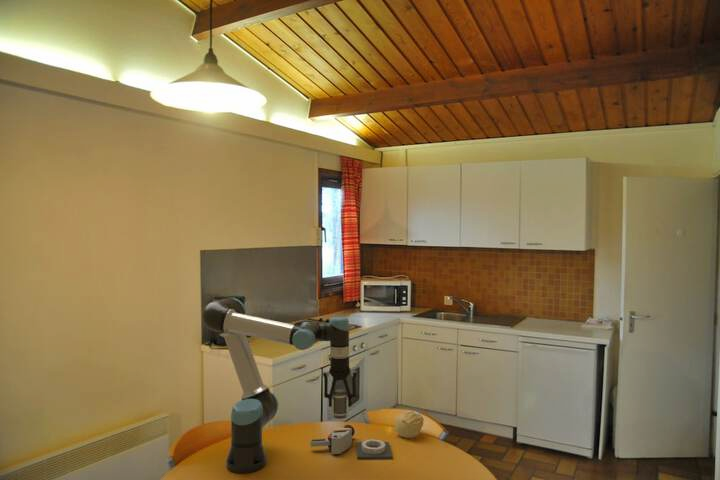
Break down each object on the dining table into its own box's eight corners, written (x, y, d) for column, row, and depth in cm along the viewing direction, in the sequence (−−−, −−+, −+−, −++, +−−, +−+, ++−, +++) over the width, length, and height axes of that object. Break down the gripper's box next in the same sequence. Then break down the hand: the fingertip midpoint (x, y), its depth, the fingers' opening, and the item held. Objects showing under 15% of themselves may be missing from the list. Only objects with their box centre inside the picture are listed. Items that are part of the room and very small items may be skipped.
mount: (357, 459, 197) (357, 451, 197) (355, 444, 211) (355, 437, 211) (392, 458, 198) (392, 451, 198) (388, 444, 212) (388, 437, 212)
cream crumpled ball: (409, 443, 213) (410, 418, 213) (389, 434, 222) (390, 410, 222) (427, 436, 221) (427, 412, 220) (407, 428, 229) (407, 405, 229)
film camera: (323, 436, 221) (355, 439, 217) (307, 452, 202) (343, 456, 199) (323, 420, 221) (356, 423, 218) (308, 435, 203) (343, 438, 199)
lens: (333, 419, 195) (333, 393, 195) (333, 414, 200) (333, 389, 200) (346, 418, 195) (346, 393, 195) (346, 414, 201) (346, 389, 201)
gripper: (316, 359, 194) (316, 418, 194) (362, 358, 194) (363, 417, 195) (317, 354, 201) (317, 411, 201) (362, 353, 202) (362, 410, 202)
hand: (340, 414), depth 198 cm, fingers closed on lens, 5 cm apart
